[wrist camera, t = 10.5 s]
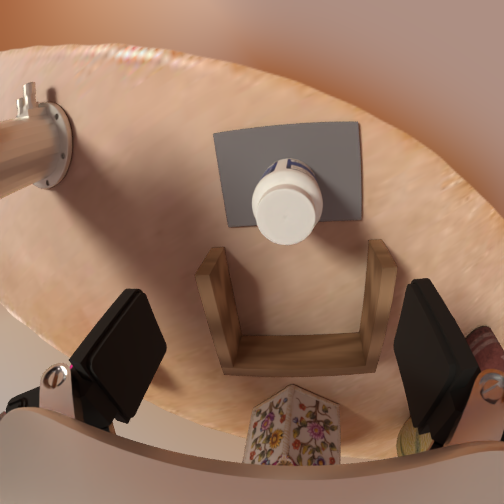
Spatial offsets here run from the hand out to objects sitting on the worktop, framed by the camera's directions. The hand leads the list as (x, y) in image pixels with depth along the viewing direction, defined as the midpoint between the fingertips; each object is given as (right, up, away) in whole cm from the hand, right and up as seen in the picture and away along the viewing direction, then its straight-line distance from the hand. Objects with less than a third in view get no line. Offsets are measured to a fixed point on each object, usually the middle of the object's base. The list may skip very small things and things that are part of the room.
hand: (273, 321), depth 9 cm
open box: (+5, -3, +24) cm, 24 cm away
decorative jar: (+7, -26, +35) cm, 44 cm away
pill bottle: (+3, +9, +17) cm, 20 cm away
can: (+36, -12, +23) cm, 44 cm away
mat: (+3, +10, +17) cm, 20 cm away
